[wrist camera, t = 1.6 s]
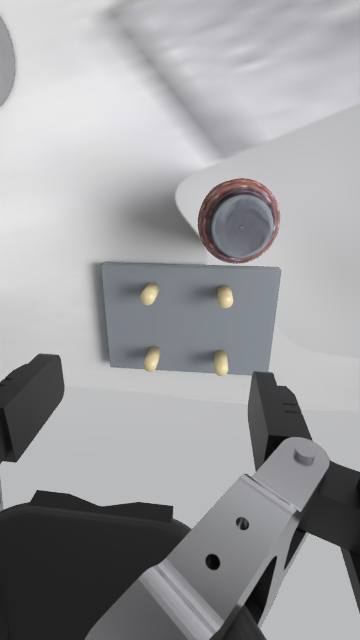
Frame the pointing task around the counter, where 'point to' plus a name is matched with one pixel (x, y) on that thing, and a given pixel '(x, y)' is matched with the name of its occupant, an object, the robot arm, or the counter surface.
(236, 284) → the plate
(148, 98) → the counter surface
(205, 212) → the supplement bottle
